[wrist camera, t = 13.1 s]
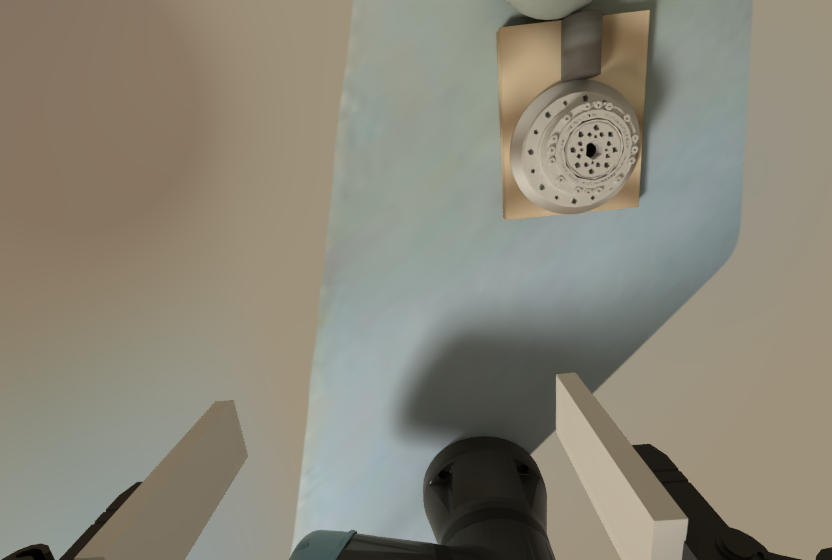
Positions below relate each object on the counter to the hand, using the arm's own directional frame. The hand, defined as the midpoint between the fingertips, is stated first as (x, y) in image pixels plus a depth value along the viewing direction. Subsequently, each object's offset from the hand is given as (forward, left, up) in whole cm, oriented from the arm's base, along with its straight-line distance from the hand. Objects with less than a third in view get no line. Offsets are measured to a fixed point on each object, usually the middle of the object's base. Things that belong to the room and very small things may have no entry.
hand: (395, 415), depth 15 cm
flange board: (+13, -17, -27) cm, 34 cm away
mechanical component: (+10, -16, -25) cm, 31 cm away
